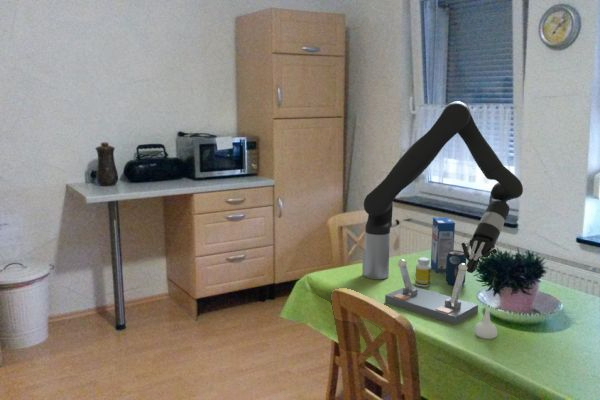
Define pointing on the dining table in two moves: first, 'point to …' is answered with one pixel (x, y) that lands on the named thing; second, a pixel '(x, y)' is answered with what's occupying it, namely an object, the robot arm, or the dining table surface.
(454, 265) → the soda can
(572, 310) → the dining table surface
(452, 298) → the lever outer
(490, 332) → the garlic bulb
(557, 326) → the dining table surface
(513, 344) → the dining table surface
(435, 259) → the milk carton
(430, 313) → the switch unit
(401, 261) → the lever inner
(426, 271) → the supplement bottle
